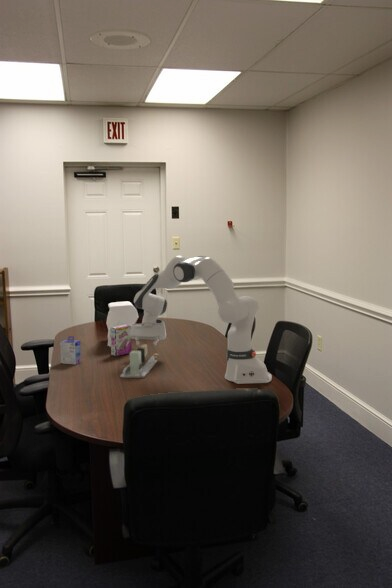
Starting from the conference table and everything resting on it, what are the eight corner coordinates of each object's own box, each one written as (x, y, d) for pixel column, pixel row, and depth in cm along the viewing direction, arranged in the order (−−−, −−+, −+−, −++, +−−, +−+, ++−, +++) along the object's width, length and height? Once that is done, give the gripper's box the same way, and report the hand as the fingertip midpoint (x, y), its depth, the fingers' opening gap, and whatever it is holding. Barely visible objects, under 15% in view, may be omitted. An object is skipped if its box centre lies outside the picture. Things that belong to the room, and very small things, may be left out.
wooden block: (147, 362, 261) (147, 344, 260) (145, 365, 256) (144, 347, 254) (139, 362, 262) (138, 344, 261) (136, 365, 257) (136, 346, 255)
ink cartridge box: (82, 362, 268) (80, 336, 266) (76, 365, 263) (74, 338, 261) (66, 360, 272) (65, 335, 270) (60, 363, 267) (59, 337, 265)
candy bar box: (116, 356, 278) (114, 328, 276) (111, 355, 281) (109, 327, 279) (132, 352, 286) (130, 325, 283) (126, 351, 289) (125, 324, 287)
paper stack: (104, 349, 296) (102, 307, 292) (107, 338, 322) (105, 300, 318) (139, 347, 298) (138, 305, 294) (139, 337, 324) (138, 298, 321)
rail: (156, 361, 266) (156, 342, 265) (144, 377, 239) (143, 355, 237) (135, 361, 268) (134, 341, 267) (120, 377, 241) (119, 355, 239)
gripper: (130, 320, 275) (126, 341, 267) (166, 320, 272) (163, 342, 264) (132, 326, 280) (128, 347, 272) (168, 327, 277) (165, 348, 269)
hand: (146, 345), depth 268 cm, fingers open, 8 cm apart
